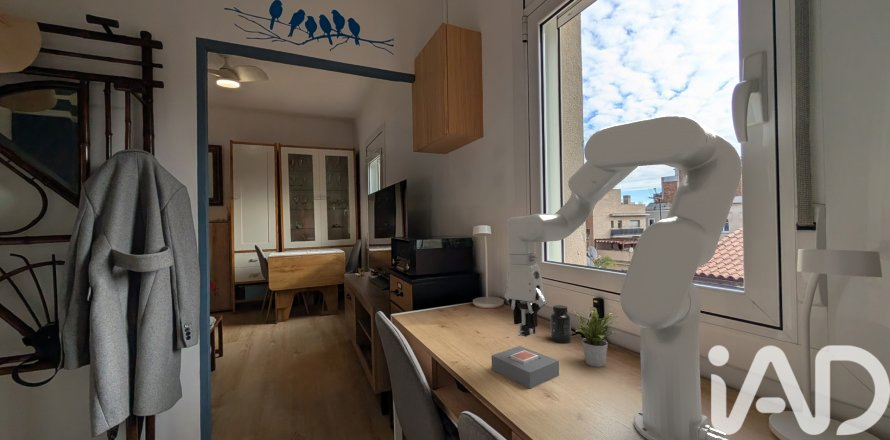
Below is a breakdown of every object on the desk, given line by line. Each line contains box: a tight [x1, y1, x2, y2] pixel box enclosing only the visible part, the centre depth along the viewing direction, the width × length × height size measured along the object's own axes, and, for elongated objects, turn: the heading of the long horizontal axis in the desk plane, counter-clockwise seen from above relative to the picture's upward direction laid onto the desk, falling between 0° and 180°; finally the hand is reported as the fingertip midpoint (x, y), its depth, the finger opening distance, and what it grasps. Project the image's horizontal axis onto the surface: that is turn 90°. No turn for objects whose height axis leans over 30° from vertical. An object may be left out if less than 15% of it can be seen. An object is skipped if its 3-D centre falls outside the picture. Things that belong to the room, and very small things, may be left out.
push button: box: [516, 301, 536, 338], centre depth 89 cm, size 7×5×10 cm
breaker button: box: [510, 350, 538, 365], centre depth 90 cm, size 5×6×4 cm
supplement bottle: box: [550, 304, 572, 344], centre depth 114 cm, size 7×7×12 cm
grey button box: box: [491, 345, 560, 389], centre depth 89 cm, size 14×12×4 cm
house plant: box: [572, 307, 619, 368], centre depth 94 cm, size 14×14×16 cm
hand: (525, 324), depth 89 cm, fingers closed on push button, 4 cm apart
